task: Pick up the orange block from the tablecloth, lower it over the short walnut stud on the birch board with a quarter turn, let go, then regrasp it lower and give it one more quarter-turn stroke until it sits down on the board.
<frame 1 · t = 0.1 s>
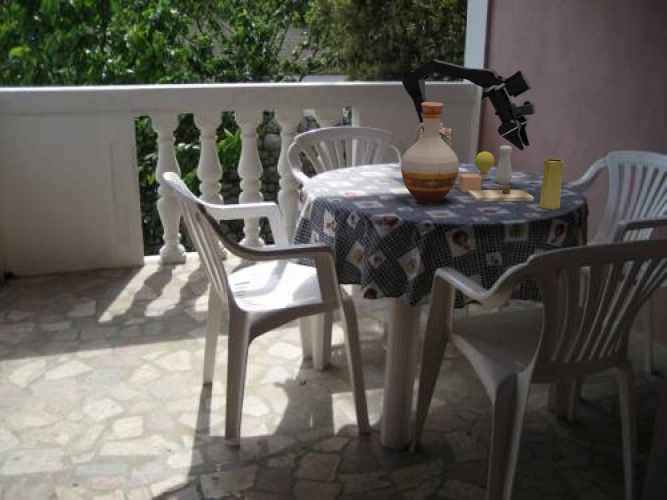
hand: (525, 147, 230), 15 cm above the table, tool tilted 30°, fingers open, 9 cm apart
light bulb: (483, 179, 255), on the table
vase: (549, 207, 215), on the table
decorative jar: (434, 171, 272), on the table
salt shaker: (503, 183, 249), on the table
jug: (427, 200, 224), on the table
base board: (499, 197, 227), on the table
orange block: (469, 190, 237), on the table
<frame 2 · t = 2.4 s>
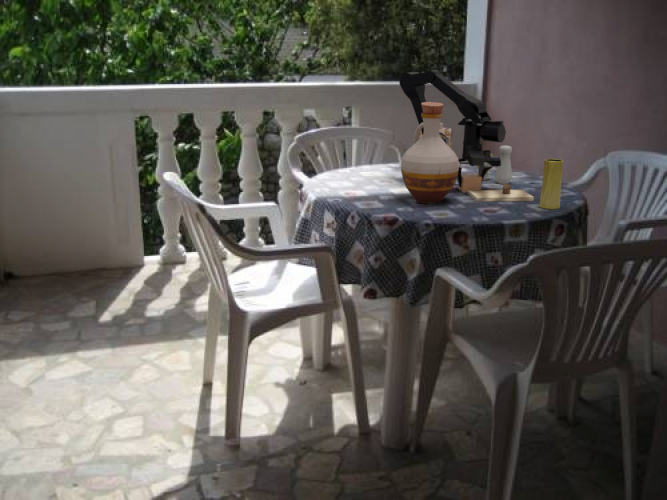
hand: (469, 186, 237), 1 cm above the table, tool pointing down, fingers closed on orange block, 6 cm apart
orange block: (469, 190, 237), on the table, touching gripper
everything else where it was.
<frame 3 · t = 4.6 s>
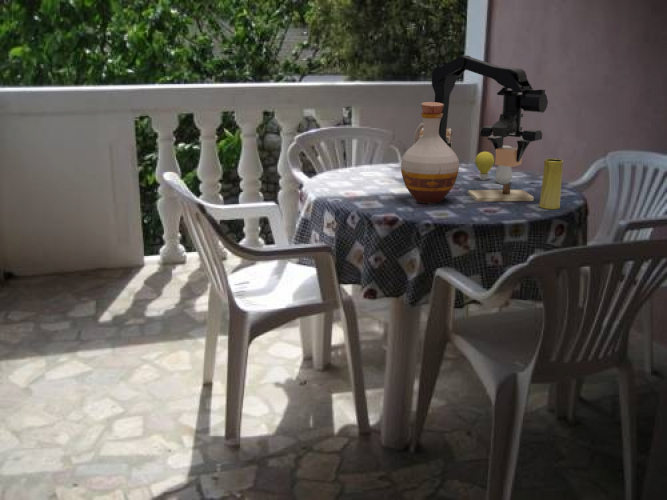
hand: (508, 160, 224), 12 cm above the table, tool pointing down, fingers closed on orange block, 6 cm apart
orange block: (508, 164, 225), point 10 cm above the table, touching gripper
everything else where it was.
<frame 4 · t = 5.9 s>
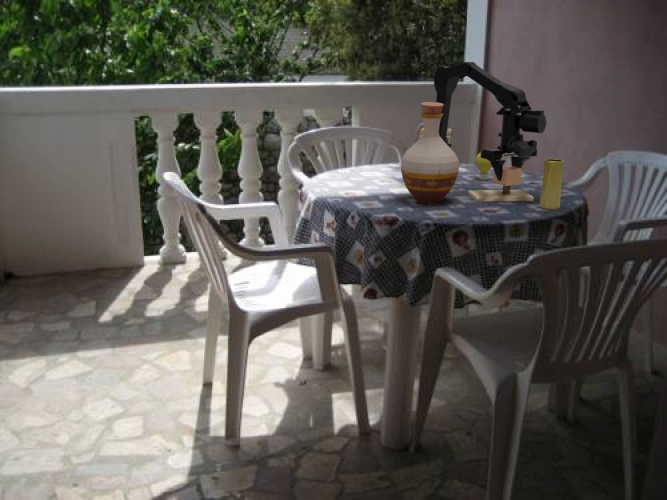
hand: (507, 179, 226), 6 cm above the table, tool pointing down, fingers closed on orange block, 6 cm apart
orange block: (506, 183, 226), point 4 cm above the table, touching gripper
everything else where it was.
when the fingers open (3 cm above the table, at t = 7.0 s): orange block stays where it is, resting on base board.
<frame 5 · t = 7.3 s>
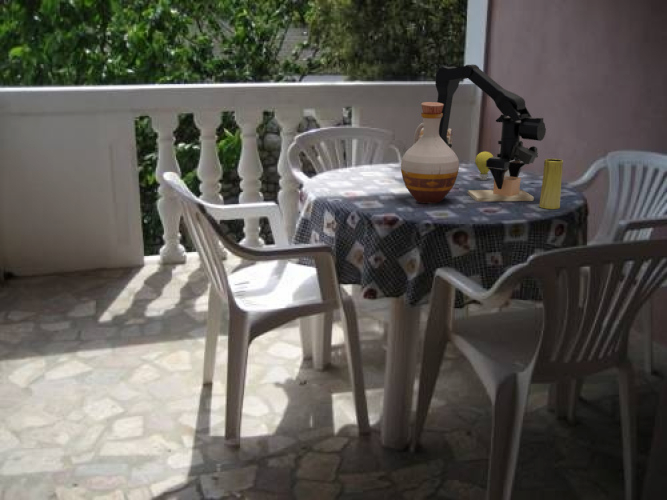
hand: (506, 186, 227), 3 cm above the table, tool pointing down, fingers open, 9 cm apart
orange block: (506, 193, 227), point 1 cm above the table, touching base board
everything else where it was.
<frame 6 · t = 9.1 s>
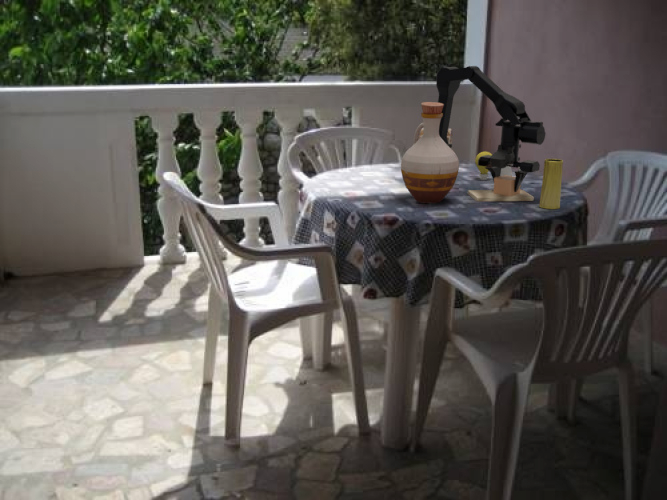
hand: (506, 190, 227), 2 cm above the table, tool pointing down, fingers closed on orange block, 6 cm apart
orange block: (506, 193, 228), point 1 cm above the table, touching base board, gripper
everything else where it was.
when the fingers open (4 cm above the table, at t = 10.5 s): orange block drops 1 cm, resting on base board.
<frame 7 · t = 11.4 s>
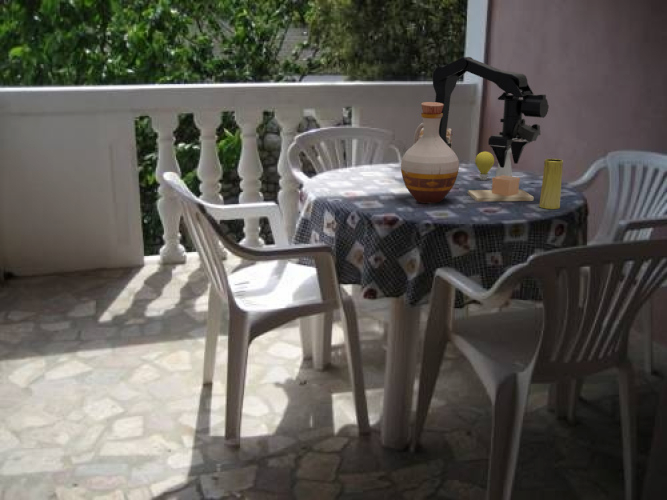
hand: (509, 165, 224), 10 cm above the table, tool pointing down, fingers open, 9 cm apart
orange block: (505, 193, 228), point 1 cm above the table, touching base board
everything else where it was.
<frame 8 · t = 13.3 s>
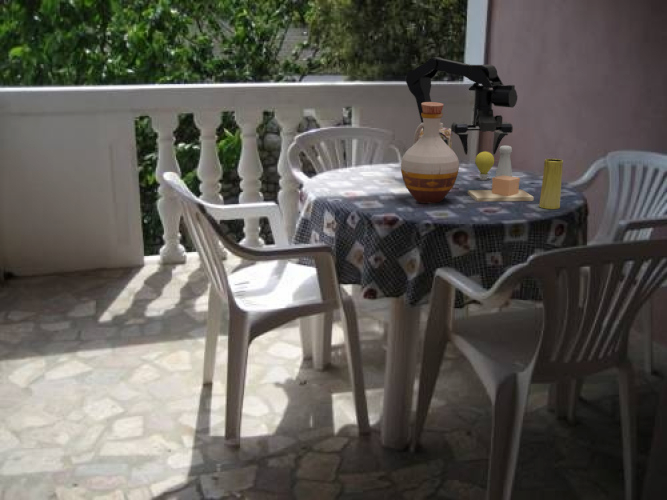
hand: (480, 154, 231), 13 cm above the table, tool pointing down, fingers open, 9 cm apart
nothing on the table moved.
at the end: orange block 0.4 cm from the target spot on the base board, point 1.2 cm above the base board's base; orange block tilted 0°; the gripper is holding nothing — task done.
